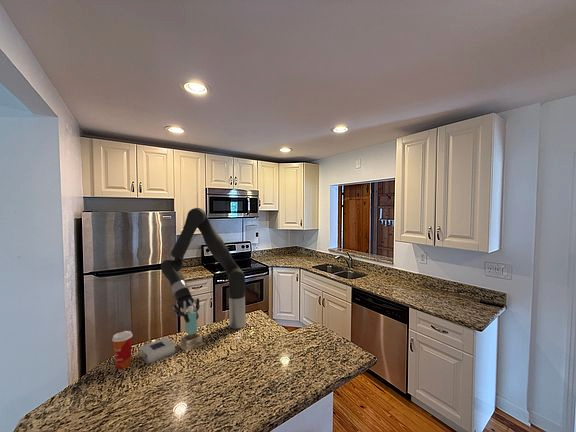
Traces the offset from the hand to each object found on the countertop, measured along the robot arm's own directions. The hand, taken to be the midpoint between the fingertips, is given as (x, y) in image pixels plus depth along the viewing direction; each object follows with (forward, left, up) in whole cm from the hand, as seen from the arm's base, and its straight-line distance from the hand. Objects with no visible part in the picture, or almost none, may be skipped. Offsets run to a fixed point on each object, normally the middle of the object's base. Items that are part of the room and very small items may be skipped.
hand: (192, 320), depth 128 cm
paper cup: (+21, -21, -14) cm, 32 cm away
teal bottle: (-1, -2, -7) cm, 7 cm away
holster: (-1, -2, -13) cm, 13 cm away
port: (+11, -12, -13) cm, 21 cm away
